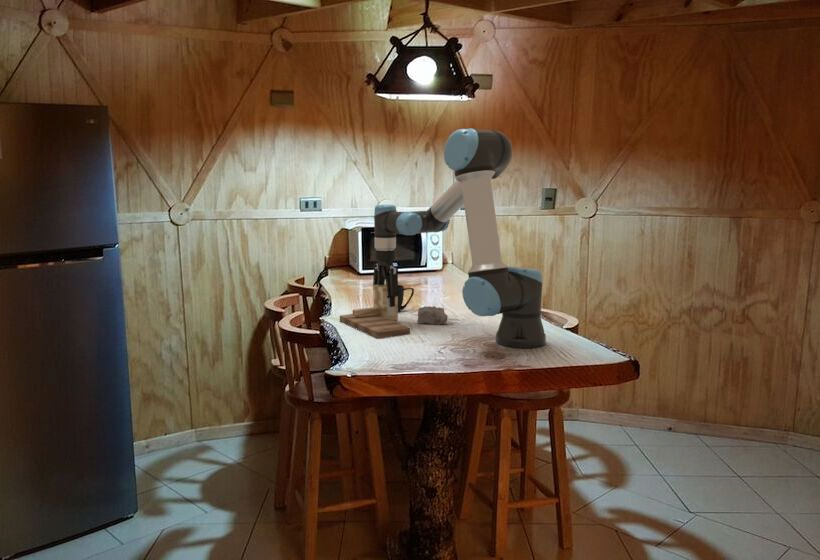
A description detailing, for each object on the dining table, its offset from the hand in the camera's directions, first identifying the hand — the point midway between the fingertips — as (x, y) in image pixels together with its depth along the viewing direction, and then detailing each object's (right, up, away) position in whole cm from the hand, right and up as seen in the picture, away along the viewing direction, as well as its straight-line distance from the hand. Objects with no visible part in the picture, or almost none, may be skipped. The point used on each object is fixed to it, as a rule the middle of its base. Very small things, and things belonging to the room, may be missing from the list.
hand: (385, 313), depth 221 cm
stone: (+16, -3, -4) cm, 17 cm away
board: (-4, -4, -11) cm, 12 cm away
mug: (+4, 0, +14) cm, 15 cm away
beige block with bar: (-4, -2, -2) cm, 5 cm away
